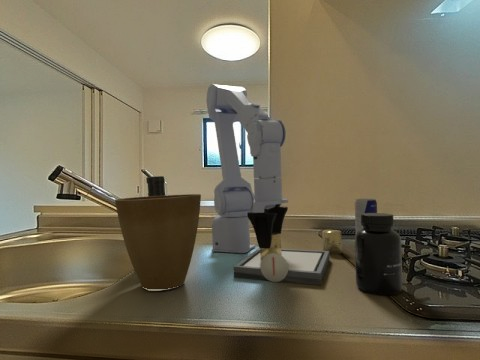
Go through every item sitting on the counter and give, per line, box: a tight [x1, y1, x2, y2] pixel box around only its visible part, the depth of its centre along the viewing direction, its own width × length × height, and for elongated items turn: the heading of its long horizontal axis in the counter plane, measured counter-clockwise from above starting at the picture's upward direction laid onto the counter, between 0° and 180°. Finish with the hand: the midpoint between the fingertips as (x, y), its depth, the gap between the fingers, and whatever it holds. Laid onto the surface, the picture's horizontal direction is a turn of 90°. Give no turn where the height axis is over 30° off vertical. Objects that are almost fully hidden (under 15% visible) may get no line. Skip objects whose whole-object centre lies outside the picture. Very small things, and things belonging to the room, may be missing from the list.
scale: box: [233, 247, 330, 286], centre depth 61 cm, size 16×17×5 cm
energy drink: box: [354, 198, 378, 234], centre depth 79 cm, size 5×5×12 cm
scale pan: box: [244, 251, 322, 271], centre depth 62 cm, size 13×13×1 cm
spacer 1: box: [260, 232, 282, 260], centre depth 63 cm, size 4×4×5 cm
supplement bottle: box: [354, 212, 403, 296], centre depth 49 cm, size 7×7×12 cm
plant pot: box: [114, 193, 202, 289], centre depth 55 cm, size 15×15×16 cm
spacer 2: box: [321, 229, 343, 255], centre depth 74 cm, size 4×4×5 cm
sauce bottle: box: [145, 175, 166, 196], centre depth 70 cm, size 6×6×20 cm
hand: (270, 243), depth 63 cm, fingers open, 7 cm apart
